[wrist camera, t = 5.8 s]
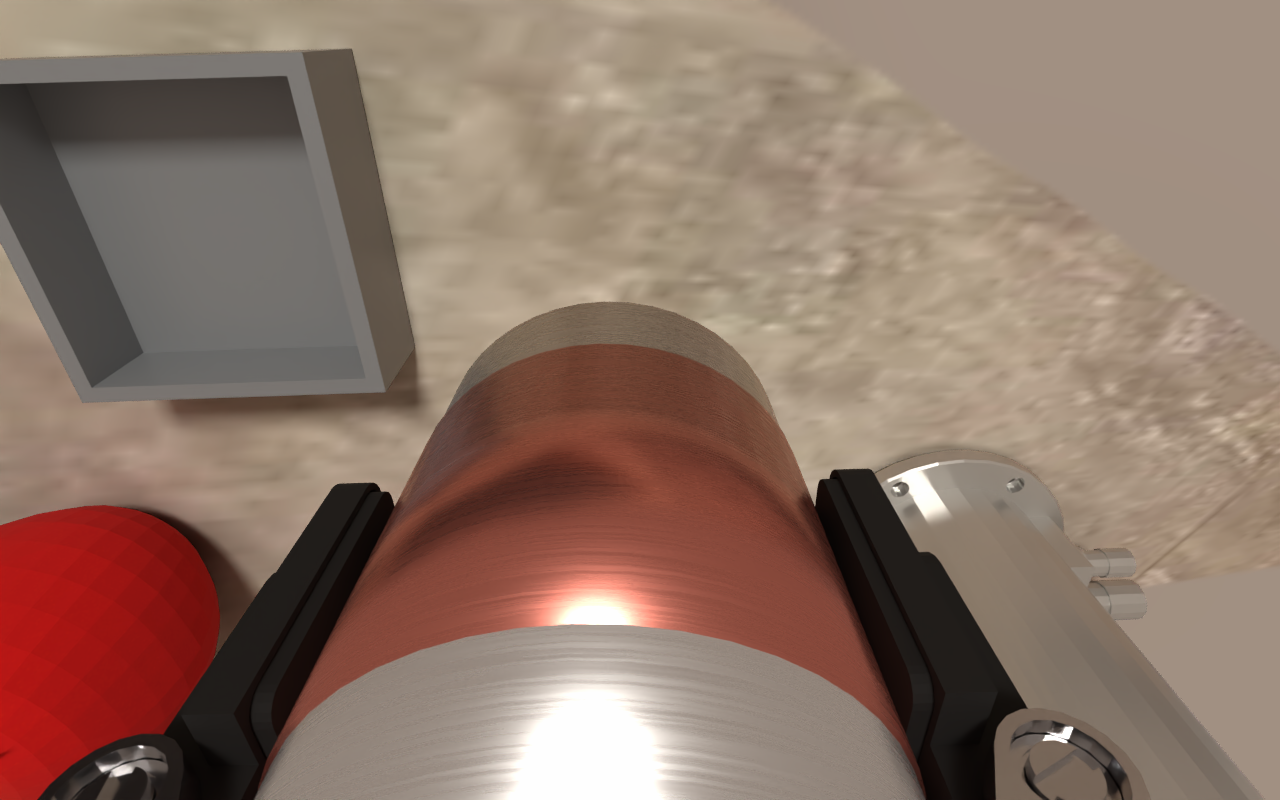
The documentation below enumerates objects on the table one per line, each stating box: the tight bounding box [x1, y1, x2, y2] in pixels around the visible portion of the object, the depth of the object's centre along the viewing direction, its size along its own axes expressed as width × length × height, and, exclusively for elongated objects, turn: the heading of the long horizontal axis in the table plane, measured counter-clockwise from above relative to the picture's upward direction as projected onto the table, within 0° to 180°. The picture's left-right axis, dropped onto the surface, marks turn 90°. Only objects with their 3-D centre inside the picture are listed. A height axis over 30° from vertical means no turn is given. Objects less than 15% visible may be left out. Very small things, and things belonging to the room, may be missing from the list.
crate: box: [0, 49, 415, 403], centre depth 23 cm, size 11×11×4 cm
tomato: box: [0, 505, 220, 800], centre depth 28 cm, size 12×12×13 cm
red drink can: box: [254, 302, 926, 800], centre depth 9 cm, size 6×6×9 cm
